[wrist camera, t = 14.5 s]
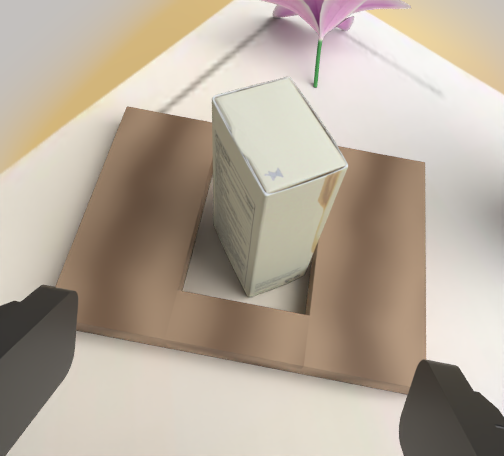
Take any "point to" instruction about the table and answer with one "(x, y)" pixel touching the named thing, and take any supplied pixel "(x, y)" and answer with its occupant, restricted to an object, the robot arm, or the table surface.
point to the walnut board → (242, 314)
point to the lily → (329, 14)
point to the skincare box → (271, 181)
